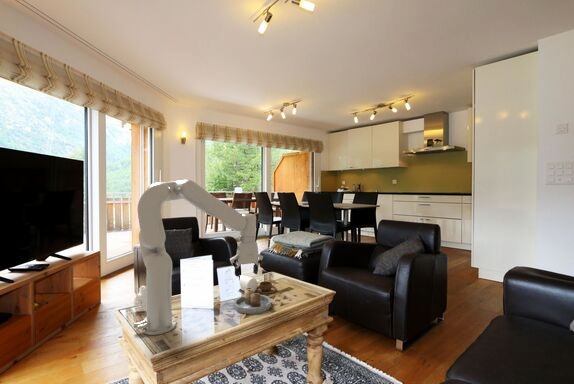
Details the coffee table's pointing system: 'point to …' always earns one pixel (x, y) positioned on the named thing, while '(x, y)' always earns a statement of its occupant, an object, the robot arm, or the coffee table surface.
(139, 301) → the koala figurine
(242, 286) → the mug
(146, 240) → the robot arm
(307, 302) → the coffee table surface
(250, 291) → the oak bead
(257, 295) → the walnut bead
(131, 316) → the coffee table surface
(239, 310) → the dish
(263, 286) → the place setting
